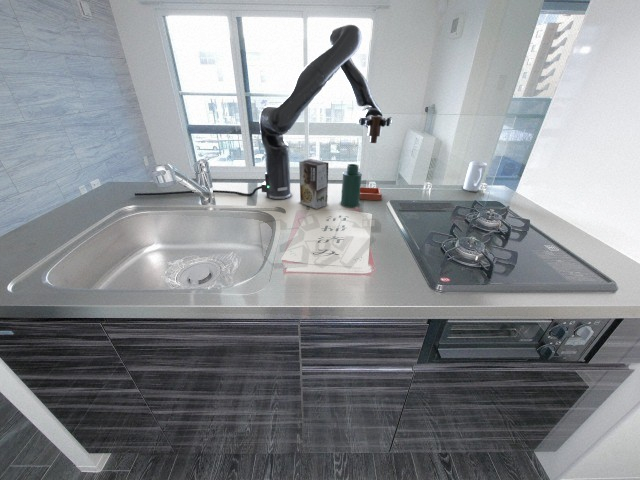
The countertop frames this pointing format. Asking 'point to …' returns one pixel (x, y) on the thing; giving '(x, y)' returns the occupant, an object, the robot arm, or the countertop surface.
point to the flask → (351, 186)
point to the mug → (474, 175)
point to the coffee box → (313, 183)
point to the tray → (370, 193)
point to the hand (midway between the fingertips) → (376, 123)
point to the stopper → (375, 128)
